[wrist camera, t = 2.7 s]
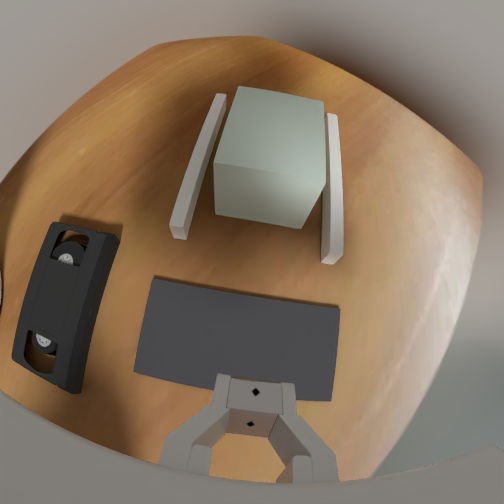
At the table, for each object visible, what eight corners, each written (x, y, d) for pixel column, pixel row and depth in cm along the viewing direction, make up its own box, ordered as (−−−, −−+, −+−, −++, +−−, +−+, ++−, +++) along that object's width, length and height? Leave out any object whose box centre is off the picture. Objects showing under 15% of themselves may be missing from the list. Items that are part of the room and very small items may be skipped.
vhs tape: (60, 229, 24) (52, 220, 22) (121, 244, 24) (114, 234, 22) (22, 360, 18) (10, 359, 17) (83, 392, 19) (72, 394, 17)
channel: (134, 371, 20) (124, 372, 17) (210, 107, 31) (209, 92, 29) (329, 400, 20) (341, 404, 18) (336, 130, 32) (343, 117, 29)
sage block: (215, 215, 26) (213, 162, 19) (234, 139, 30) (238, 85, 23) (300, 229, 26) (325, 182, 19) (305, 152, 30) (323, 102, 23)
